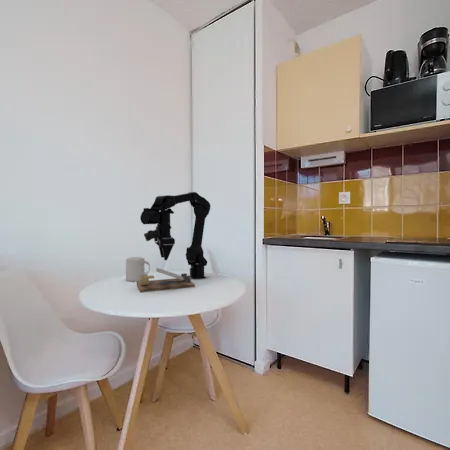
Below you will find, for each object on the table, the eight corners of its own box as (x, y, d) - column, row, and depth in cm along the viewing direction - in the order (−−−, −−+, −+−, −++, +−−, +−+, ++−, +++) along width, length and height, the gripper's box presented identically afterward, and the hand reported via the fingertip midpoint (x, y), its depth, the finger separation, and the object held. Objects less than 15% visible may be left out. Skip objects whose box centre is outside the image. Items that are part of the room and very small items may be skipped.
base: (185, 280, 136) (185, 271, 136) (194, 286, 122) (194, 277, 122) (136, 284, 127) (136, 275, 127) (140, 292, 113) (140, 282, 113)
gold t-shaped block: (152, 281, 125) (152, 274, 125) (154, 284, 120) (154, 276, 120) (140, 282, 123) (140, 275, 122) (141, 285, 118) (141, 277, 118)
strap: (184, 279, 130) (185, 277, 130) (186, 281, 126) (187, 278, 126) (155, 270, 125) (156, 267, 125) (157, 271, 121) (158, 269, 121)
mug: (153, 279, 138) (153, 257, 138) (130, 282, 130) (130, 259, 130) (146, 276, 144) (146, 255, 144) (123, 279, 137) (123, 257, 136)
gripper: (142, 223, 130) (143, 257, 130) (147, 224, 112) (147, 263, 113) (166, 223, 134) (167, 255, 134) (174, 224, 116) (175, 261, 117)
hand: (164, 258), depth 124 cm, fingers open, 8 cm apart
